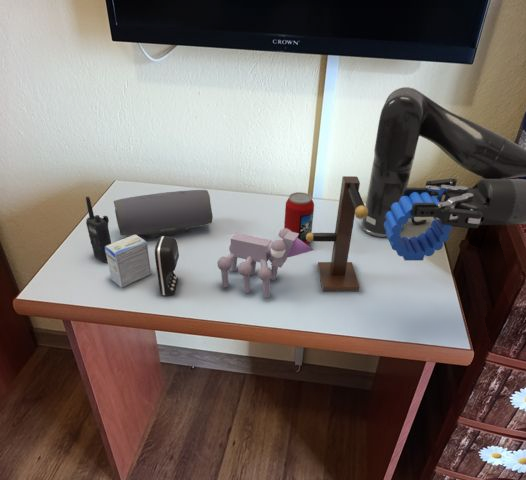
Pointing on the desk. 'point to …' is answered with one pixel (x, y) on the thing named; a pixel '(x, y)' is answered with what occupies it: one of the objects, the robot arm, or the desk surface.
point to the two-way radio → (98, 232)
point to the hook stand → (341, 239)
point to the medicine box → (128, 260)
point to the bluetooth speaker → (163, 212)
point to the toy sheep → (260, 256)
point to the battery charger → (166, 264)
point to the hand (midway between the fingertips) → (408, 201)
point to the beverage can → (299, 214)
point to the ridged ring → (424, 242)
